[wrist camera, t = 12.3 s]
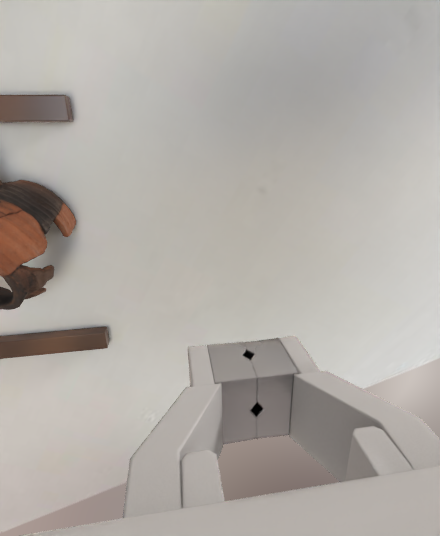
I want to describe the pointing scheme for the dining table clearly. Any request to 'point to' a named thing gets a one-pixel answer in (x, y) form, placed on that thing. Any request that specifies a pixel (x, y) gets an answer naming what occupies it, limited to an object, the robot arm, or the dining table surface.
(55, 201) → the broken brown mug
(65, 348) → the frame
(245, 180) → the dining table surface
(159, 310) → the dining table surface
